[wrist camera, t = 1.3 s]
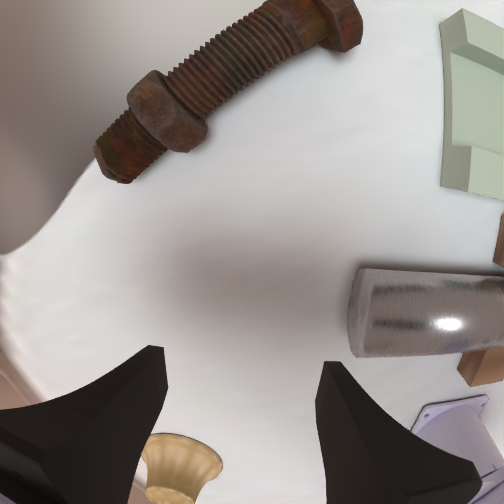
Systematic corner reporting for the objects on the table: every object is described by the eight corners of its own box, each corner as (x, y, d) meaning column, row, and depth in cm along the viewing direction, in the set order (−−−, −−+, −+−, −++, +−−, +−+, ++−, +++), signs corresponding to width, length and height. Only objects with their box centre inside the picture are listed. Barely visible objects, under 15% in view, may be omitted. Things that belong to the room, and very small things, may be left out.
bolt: (131, 154, 19) (314, 17, 15) (155, 211, 17) (368, 57, 14) (65, 120, 14) (286, -51, 10) (77, 184, 12) (353, -23, 8)
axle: (514, 267, 18) (553, 294, 13) (496, 324, 19) (527, 357, 14) (357, 255, 18) (382, 291, 13) (343, 327, 20) (359, 375, 15)
